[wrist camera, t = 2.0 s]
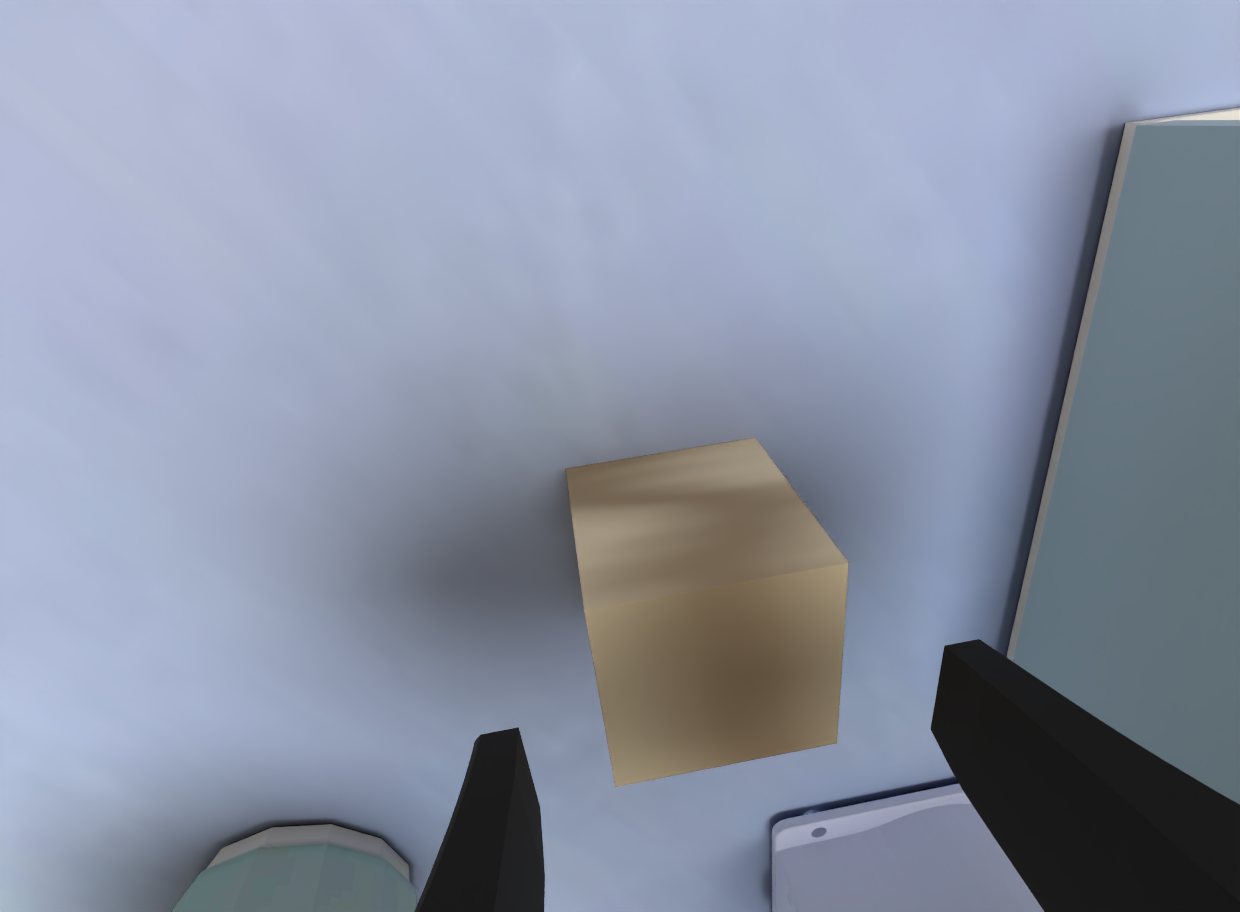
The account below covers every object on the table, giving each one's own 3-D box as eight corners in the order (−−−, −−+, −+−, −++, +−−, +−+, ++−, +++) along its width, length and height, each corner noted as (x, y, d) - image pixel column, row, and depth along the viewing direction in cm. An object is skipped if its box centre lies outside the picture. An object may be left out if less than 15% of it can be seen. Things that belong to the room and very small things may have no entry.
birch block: (591, 616, 17) (615, 787, 13) (565, 467, 15) (583, 610, 11) (757, 586, 17) (836, 743, 13) (754, 436, 15) (848, 562, 11)
